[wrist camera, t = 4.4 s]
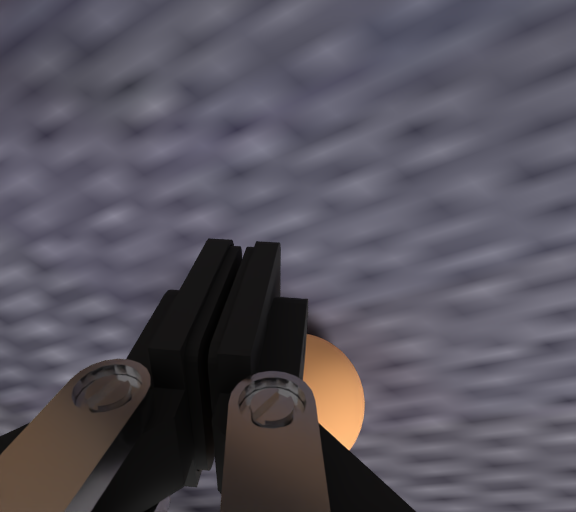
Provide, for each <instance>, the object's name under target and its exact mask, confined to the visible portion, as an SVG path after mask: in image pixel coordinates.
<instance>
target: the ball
mask: <svg viewBox="0 0 576 512" xmlns="http://www.w3.org/2000/svg"><path fill="white" fill-rule="evenodd" d="M303 381H304V382H305V383H306V384H307V385H308V386H309V387H310V389H311V390H312V392H313V395H314V398H315V401H316V408H317V416H318V423H320V424H321V425H322V426H323V427H324V428H325V429H326V430H327V431H328V432H329V433H330V434H332V435H333V436H334V437H335V438H336V439H337V440H338V441H339V442H340V443H341V444H342V445H344V446H345V447H346V448H347V449H348V450H350V449H351V447H352V446H353V444H354V443H355V441H356V439H357V437H358V434H359V432H360V430H361V426H362V422H363V418H364V404H365V402H364V393H363V388H362V385H361V381H360V378H359V376H358V374H357V372H356V370H355V368H354V366H353V365H352V363H351V362H350V360H349V359H348V358H347V357H346V356H345V354H344V353H343V352H342V351H341V350H339V349H338V348H337V347H336V346H334V345H333V344H331V343H330V342H328V341H326V340H324V339H322V338H319V337H317V336H313V335H310V334H307V337H306V352H305V364H304V374H303Z"/></svg>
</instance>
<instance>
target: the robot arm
mask: <svg viewBox="0 0 576 512" xmlns="http://www.w3.org/2000/svg"><path fill="white" fill-rule="evenodd" d="M280 263H281V247H280V243H276V242H259V241H256V243H255V246H254V247H247V248H246V251H245V253H244V256H243V259H242V249H241V246H234V244H233V241H232V240H225V239H208V240H207V241H206V243H205V245H204V247H203V249H202V250H201V252H200V254H199V256H198V258H197V259H196V261H195V263H194V265H193V267H192V269H191V270H190V272H189V274H188V276H187V278H186V279H185V281H184V283H183V285H182V287H181V288H180V290H168V291H167V292H166V293H165V295H164V296H163V298H162V300H161V301H160V303H159V305H158V306H157V308H156V310H155V311H154V313H153V315H152V316H151V318H150V320H149V322H148V323H147V325H146V327H145V328H144V330H143V332H142V333H141V335H140V337H139V338H138V340H137V342H136V343H135V345H134V347H133V348H132V350H131V352H130V353H129V355H128V357H127V359H111V360H105V361H101V362H98V363H95V364H92V365H90V366H88V367H87V368H85V369H83V370H81V371H80V372H78V373H77V374H76V375H75V376H74V377H73V378H71V379H70V380H69V381H68V382H67V384H66V385H65V386H64V387H63V388H62V389H61V390H60V391H59V392H58V393H57V394H56V395H55V396H54V398H53V399H52V400H51V401H50V402H49V403H48V404H47V405H46V406H45V407H44V408H43V409H42V410H41V412H40V413H39V414H38V415H37V416H36V417H35V418H34V419H33V420H32V421H31V422H30V423H28V424H26V425H24V426H22V427H20V428H18V429H15V430H13V431H11V432H9V433H7V434H4V435H2V436H0V512H167V511H168V508H169V505H170V495H171V494H173V493H175V492H176V491H178V490H179V489H181V488H182V487H184V486H189V487H197V485H198V482H199V478H200V475H201V471H202V470H208V471H209V470H210V469H211V467H212V464H213V461H214V457H215V463H216V474H217V486H218V491H219V492H220V493H221V505H220V512H416V511H415V510H414V509H412V508H411V507H410V506H409V505H408V504H407V503H406V502H405V501H404V500H403V499H402V498H400V497H399V496H398V495H397V494H396V493H395V492H394V491H393V490H392V489H391V488H390V487H388V486H387V485H386V484H385V483H384V482H383V481H382V480H381V479H380V478H379V477H377V476H376V475H375V474H374V473H373V472H372V471H371V470H370V469H369V468H368V467H367V466H365V465H364V464H363V463H362V462H361V461H360V460H359V459H358V458H357V457H356V456H355V455H353V454H352V453H351V452H350V451H349V450H348V449H347V448H346V447H345V446H344V445H342V444H341V443H340V442H339V441H338V440H337V439H336V438H335V437H334V436H333V435H332V434H330V433H329V432H328V431H327V430H326V429H325V428H324V427H323V426H322V425H321V424H320V423H318V416H317V408H316V401H315V398H314V395H313V392H312V390H311V389H310V387H309V386H308V385H307V384H306V383H305V382H304V381H303V374H304V364H305V352H306V337H307V317H308V299H299V298H285V297H280Z"/></svg>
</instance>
